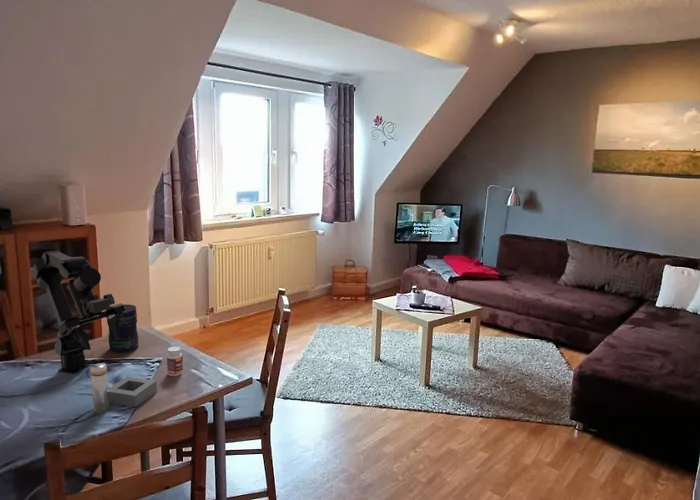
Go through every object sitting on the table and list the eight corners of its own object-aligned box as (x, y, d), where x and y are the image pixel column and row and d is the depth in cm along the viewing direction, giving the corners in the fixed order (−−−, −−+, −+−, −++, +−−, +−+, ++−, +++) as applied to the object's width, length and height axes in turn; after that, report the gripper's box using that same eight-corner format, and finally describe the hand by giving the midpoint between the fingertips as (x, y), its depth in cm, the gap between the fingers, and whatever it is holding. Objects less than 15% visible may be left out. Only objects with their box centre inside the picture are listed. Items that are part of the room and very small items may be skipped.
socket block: (105, 402, 152) (104, 390, 151) (128, 387, 162) (127, 376, 161) (135, 407, 150) (135, 395, 149) (156, 391, 159) (156, 380, 158)
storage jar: (112, 344, 195) (109, 305, 192) (140, 342, 197) (138, 303, 194) (106, 354, 185) (103, 313, 182) (136, 352, 188) (134, 312, 185)
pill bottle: (178, 377, 169) (177, 352, 168) (164, 375, 170) (163, 350, 169) (185, 370, 174) (184, 346, 172) (172, 369, 175) (171, 345, 173)
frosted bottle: (90, 412, 146) (86, 368, 144) (100, 405, 150) (97, 362, 148) (102, 414, 145) (99, 370, 143) (113, 407, 149) (109, 364, 147)
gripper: (63, 295, 147) (85, 347, 146) (124, 279, 162) (144, 326, 161) (48, 309, 154) (69, 358, 152) (108, 292, 169) (127, 337, 167)
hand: (104, 344), depth 158 cm, fingers open, 9 cm apart
